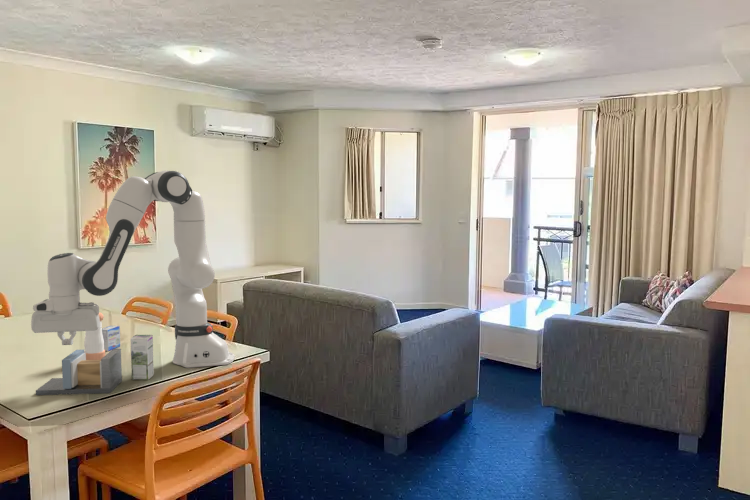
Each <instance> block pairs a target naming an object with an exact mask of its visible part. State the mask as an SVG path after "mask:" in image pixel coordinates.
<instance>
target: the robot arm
mask: <svg viewBox="0 0 750 500" xmlns="http://www.w3.org/2000/svg"><path fill="white" fill-rule="evenodd" d="M190 185H191V184H190V182H189V180H188V179H187V177H186V176H185V175H184V174H182V173H181V172H179V171H176V170H161V171H157V172H152V173H151V174H149V175H148V176H146V177H142V176H137V175H136V176H135V175H132V176H130V177H127V178H126V179H125V180H124V182H123V183H122V185H121V186H120V187H119V189H117V192H116V193H115V195H114V196H113V198H112V200H111V202H110V204H109V205H108V208H107V211H106V216H105V220H106V223H107V226H108V230H109V233H108V234H109V235H108V238H107V241H106V243H105V246H104V247H103V250H102V252H101V255H100V256H99V258H98V259H97V261H95V260H91V259H86V258H84V257H81V256H78V255H77V254H75V253H73V252H66V253H65V252H64V253H59V254H56V255H54V256H52V257H51V258H50V259H49V260H48V263H47V284H48V286H49V293H48V298H47V299H44V300H42V301H39V302H37V303H36V304H34V305H33V307H32V310H33V311H34V312H32V314H31V322H30V323H31V324H30V325H31V331H32V332H33V333H35V334H40V333H41V334H43V333H57V337H58V338H59V339H60V340H61V345H62V346H72V345H73V344H74V338H75V336H76V335H77V332H86V331H95V330H97V329H98V328H99V327H100V319H99V315H98V314H99V312H100V307H99V305H98V303H97V304H96V303H95V302H93V301H92V302H81V297H80V291H82V290H86V292H87V293H89V294H90V295H92V296H97V297H102V296H106V295H108V294H110V293H111V292H113V291H114V290H115V288H116V287H117V285H118V280H119V269H120V265H121V263H122V260H123V258H124V256H125V254H126V252H127V250H128V247H129V244H130V242H131V240H132V237H133V235H134V234H135V232H136V229H137V228H138V226H139V225H140V222H141V220H142V219H143V217H144V215H145V213H146V211H147V209H148V206H150V204H151V203H152V202H153V201H154V202H161V203H169V204H170V205H171V208H172V209H173V241H174V244H175V247H176V249H177V254H178V257H176V258H174V259H173V260H171V261H170V263H169V264H168V267H167V272H168V276H169V278H170V281H171V286H172V287H171V289H172V292H173V296H174V303H175V322H176V323H175V324H174V338H175V346H174V347H175V349H174V354H173V358H172V363H173V364H174V365H176V366H177V365H178V366H182V367H183V368H199V367H210V366H211V367H212V366H224V365H225V366H226V365H229V364H231V363H233V361H235V354H234V353H233V352H230V351H229V346H228V343H227V341H226V340H225V339H223V338H222V337H220V336H219V335H218V334H216V333H214V332H213V330H214V329H213V328H214V326H213V323H210V322H208V306H207V305H208V304H207V300H206V298H205V294H204V292H203V289H206V288H209V287H210V286H211V285H212V284H213V283H214V280H215V269H214V268H213V266H212V264H211V260H210V255H209V251H208V246H207V240H206V238H207V237H206V215H205V214H206V213H205V205H204V200H203V197H202V195H201V194H200V193H199V192H197V191H195V190H193V189H192V187H191V186H190ZM67 332H68V333H69V336H70V337H69V338H66V337H65V335H64V334H65V333H67Z"/></svg>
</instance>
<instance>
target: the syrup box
mask: <svg viewBox="0 0 750 500" xmlns="http://www.w3.org/2000/svg"><path fill="white" fill-rule="evenodd" d="M130 359H131V361H130V362H131V365H130V366H131V380H133V381H134V380H137V381H139V380H140V381H141V380H143V381H147V380H150V379H151V378H153V376H154V375H155V371H154V337H153V334H135V335H133V336H132V337H130Z"/></svg>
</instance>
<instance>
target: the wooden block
mask: <svg viewBox="0 0 750 500" xmlns="http://www.w3.org/2000/svg"><path fill="white" fill-rule="evenodd" d="M100 361H101V360H82V361H80V362H79V363H78V364H77V370H78V385H101V384H100Z"/></svg>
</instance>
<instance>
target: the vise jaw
mask: <svg viewBox="0 0 750 500" xmlns="http://www.w3.org/2000/svg"><path fill="white" fill-rule="evenodd" d="M84 352H85V349H76V350H74V351H72V352H71V353H70V354H69V355H67V356H66V357H64V358H63V359H61V370H62V371H61V372H62V374H61V375H62V377H61V378H63V389H71V388H72V387H75V386H76V385H77V384H78V370H77V364H78V363H79V362H80V361H82V360H86V353H84Z"/></svg>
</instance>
